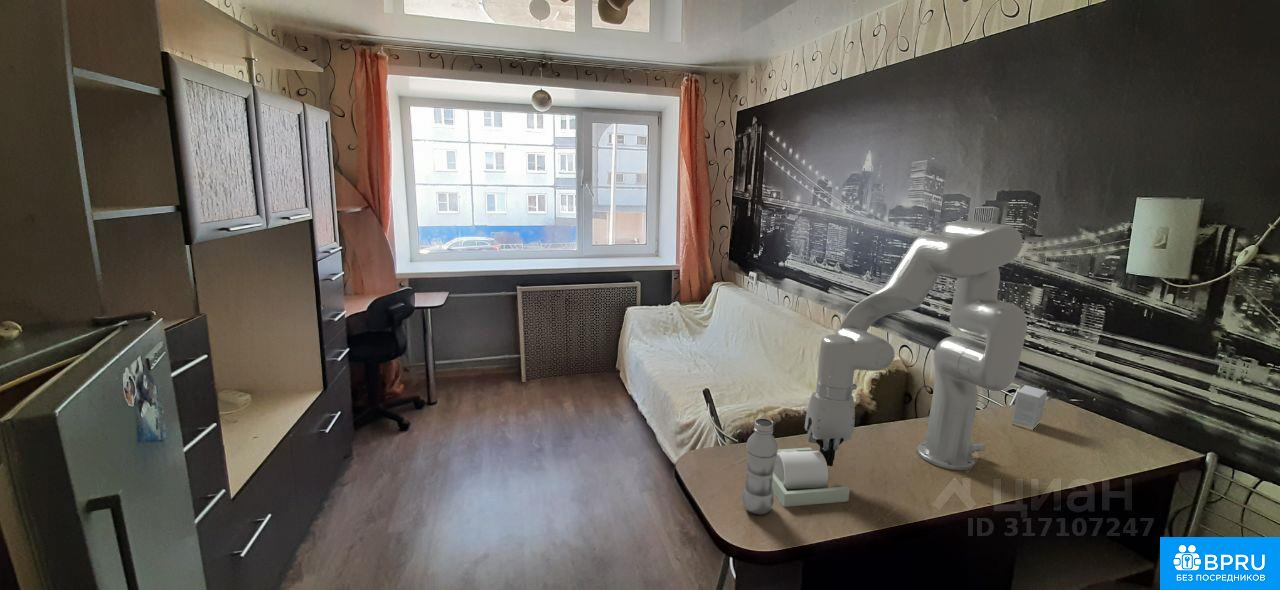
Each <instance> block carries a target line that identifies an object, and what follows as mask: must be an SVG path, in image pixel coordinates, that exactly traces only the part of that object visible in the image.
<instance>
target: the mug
mask: <svg viewBox="0 0 1280 590" xmlns="http://www.w3.org/2000/svg"><path fill="white" fill-rule="evenodd" d="M773 473H774V474H775V475H776V477H777V478H778V479H779V481H780V482H781V483H782V485H783V486H784V487H785V489H786V490H807V489H821V488H826V486H827V484H828V480H829V466H827V463H826V460H825V458H824V456H823V454H822V453H821V452H820V450H812V451H801V452H798V451H794V450H784V451H781V452H777V456H776V460H775V464H774V471H773Z"/></svg>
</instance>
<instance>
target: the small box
mask: <svg viewBox="0 0 1280 590" xmlns="http://www.w3.org/2000/svg"><path fill="white" fill-rule="evenodd" d="M1047 394H1048V390H1046V389H1041V388H1038V387H1034V386H1030V385H1028V384H1027V385H1026V384H1025V385H1024V386H1022V387H1021V388H1020V389H1019V390H1018V391H1016V396H1015V401H1014V407H1013V412H1012V418H1011V422H1012V423H1016V424H1021V425H1025V426H1029V427H1033V428H1034V427H1035V426H1036V425H1037V423H1038V422H1039V421H1040V420H1041V421H1042V418H1043V413H1044V410H1045V405H1046V399H1047V396H1048V395H1047Z"/></svg>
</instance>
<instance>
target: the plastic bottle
mask: <svg viewBox="0 0 1280 590" xmlns="http://www.w3.org/2000/svg"><path fill="white" fill-rule="evenodd" d="M753 431H754V432H753V433H752V434H751V435H750V436H749V437H748V439H747V441H746V445H745V446H746V447H745V448H746V460H747V463H746V464H747V465H746V467H747V471H746V478H745V479H746V480H745V485H744V488H743V492H742V504H743V506H744V507H745V510H747V511H748V512H749V513H752V514H754V515H765V514H768V513H769V512H770V511H772V509H773V506H774V502H775V494H774V492H773V471H774V464H775V460H776V456H777V452H778V450H779V445H778V442H777V440H776V438H775V436H774V435H773V432H774V422H773V421H772V420H770V419H769V418H765V417H763V418H757V419H756V420H755V421H754V426H753Z"/></svg>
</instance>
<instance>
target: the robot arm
mask: <svg viewBox="0 0 1280 590" xmlns="http://www.w3.org/2000/svg"><path fill="white" fill-rule="evenodd" d="M1022 248H1023V237H1022V233H1020V231H1019V230H1018V229H1017V228H1015V227H1013V226H1011V225H1007V224H1000V223H990V222H989V223H988V222H981V221H971V220H955V221H951V222H949V223H946V225H944V226H943V229H942V230H941V233H940V234H932V233H931V234H922V235H919V236H918V237H917V238H915V239H914V240H913V242H912V243H911V245H910V246H909V248H908V249H907V251H906V252H905V254H904V255H903V257H902V258H901V260H900V261H899V263H898V265H897V266H896V268H895V269H894V271H893V272H892V274H891V275H890V277H889V278H888V280H887V281H886V282H885V284H884V285H883V286H882V288H880V289H879V290H876V291H875V292H873V293H872V294H869V295H868V296H866V297H865V298H864V299H862V300H860V301H859V302H858V303H856V304H855V305H854V306H853V307H851V309H850V310H848V312H847V314H846V315H845V316H844V318H843V319H842V321H841V323H840V324H839V326H838V328H837V329H836V331H835V332H834V334H829V335H828V334H827V335H825V336H824V337H822V339H821V341H820V349H819V358H818V369H817V379H816V389H815V391H814V392H812V394H811V396H810V399H809V402H808V405H807V410H806V414H805V421H804V429H805V431H807V433H806V436H805V439H806V441H807V442H808V443H811V444H817V445H818V446H819V452H821V453H822V454H823V456H824V458H825V460H826V463H827V467H833V466H834V461H835V456H836V455H835V454H836V451H837V450H839V446H840V445H841V444H843V442H846V441H849V440H851V439H852V435H853V434H854V432H855V431H854V429H855V420H856V419H855V418H856V412H855V411H856V408H855V407H856V406H855V401H854V400H855V399H854V396H853V391H854V390H855V391H856V390H857V388H858V386H857V384H856V383H854V376H855V371H857V370H859V371H871V372H877V371H882V370H885V369H886V368H889V367H890V365H891V364H893V362H894V360H895V354H896V353H895V349H894V347H893V346H892V344H891V343H890V342H889V341H887V340H886V339H884V338H882V337H880V336H877V335H875V334H872V333H871V332H868V330H869V329H870V327H871V326H872V325H873V324H874V323H875V322H876V321H878V320H880V319H881V318H883V317H885V316H887V315H891V314H896V313H901V312H906V311H910V310H915V309H917V308H919V307H920V306H921V305H922V304H923V302H924V300H925V298H927V296H928V294H929V292H930V291H931V290H932V288H933V286H934V285H935V284H936V282H937V280H938V279H939V278H940V276H945V277H950V278H953V279H956V284H955V289H954V294H953V299H952V304H951V309H950V314H949V315H950V316H949V323H950V325H951V327H953V328H954V330H956V331H958V332H961V333H963V334H966V335H969V336H972V337H975V338H979V339H981V340H984V341H985V344H983V343H982V342H978V341H976V340H974V339H973V340H972V339H970V338H967V337H963V336H954V335H953V336H952V335H951V336H948V337H945V338H943V339H942V340H940V341H939V342H938V343H937V345H936V347H935V349H934V354H933V360H934V361H933V362H934V383H933V384H934V386H933V393H932V396H931V397H932V399H931V404H930V411H929V416H928V423H927V429H926V435H925V441H922V442H920V443H918V445H917V448H916V452H917V454H918V456H920V458H922V459H923V460H924V461H926V462H928V463H930V464H932V465H935V466H936V467H939V468H944V469H947V470H953V471H954V470H955V471H965V470H970V469H972V468H973V466H974V464H975V458H974V457H973V456H972V454H974V453H975V452H976V453H977V452H984V451H985V450H986V447H985V445H984V443H974V444H973V441H972V439H971V438H972V433H973V426H974V422H975V417H976V410H977V406H978V400H979V394H978V388H977V386H978V387H981V388H982V389H985V390H989V391H992V392H999V391H1003V390H1005V389H1007V388H1008V387H1009V386H1010V385H1011V384H1012V383H1013V381H1014V379H1015V376H1017V375H1016V374H1017V372H1018V368H1019V364H1020V360H1021V356H1022V351H1023V347H1024V344H1025V341H1026V335H1027V331H1028V319H1027V316H1026V314H1025V312H1024V310H1022V309H1021V307H1019V306H1018V305H1015V304H1013V303H1010V302H1006V301H1002V300H999V299H998V293H999V287H1000V281H1001V275H1000V273H1001V272H1000V268H1001V267H1003V266H1005V265H1007V264H1009V263H1010V262H1012V261H1013V260H1014V259H1016V258H1017V256H1018V255H1019V254H1020V252H1021V250H1022ZM999 267H1000V268H999Z"/></svg>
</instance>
